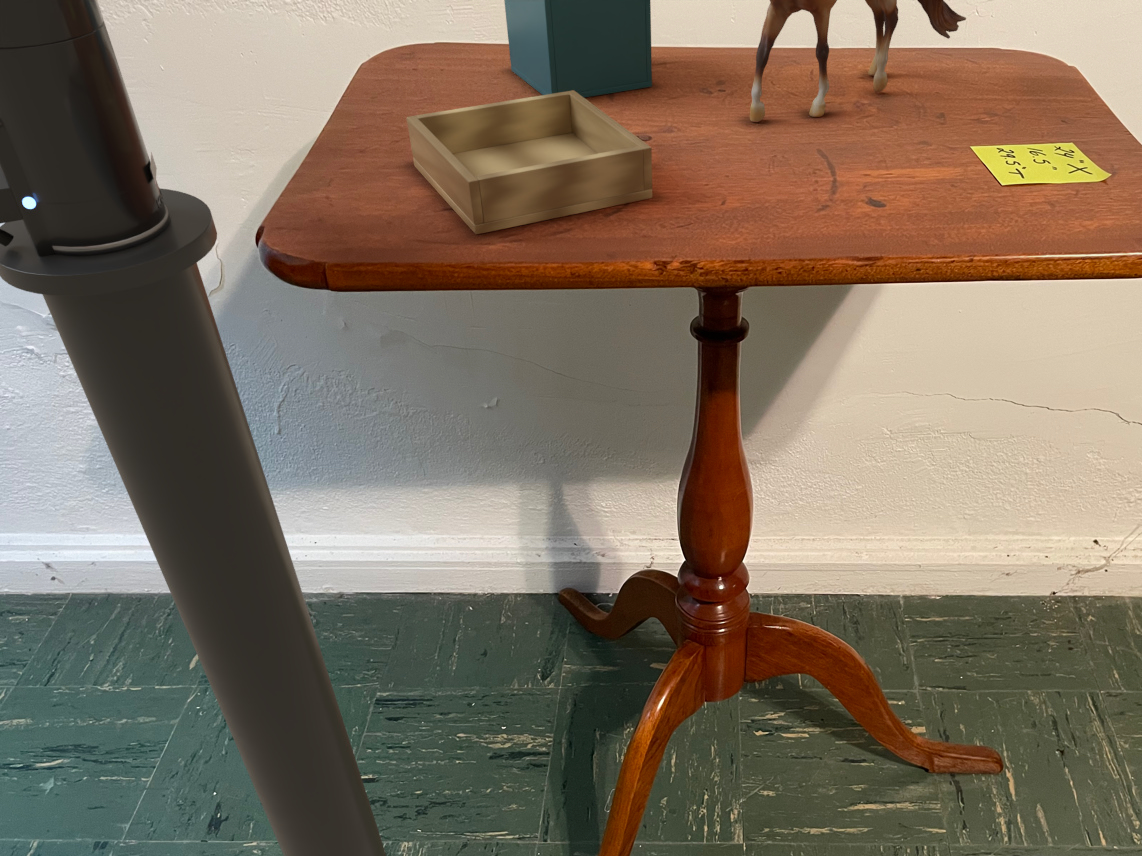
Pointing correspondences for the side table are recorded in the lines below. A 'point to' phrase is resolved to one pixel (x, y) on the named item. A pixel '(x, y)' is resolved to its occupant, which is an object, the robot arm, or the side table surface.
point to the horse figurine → (819, 6)
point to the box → (529, 160)
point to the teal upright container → (580, 45)
